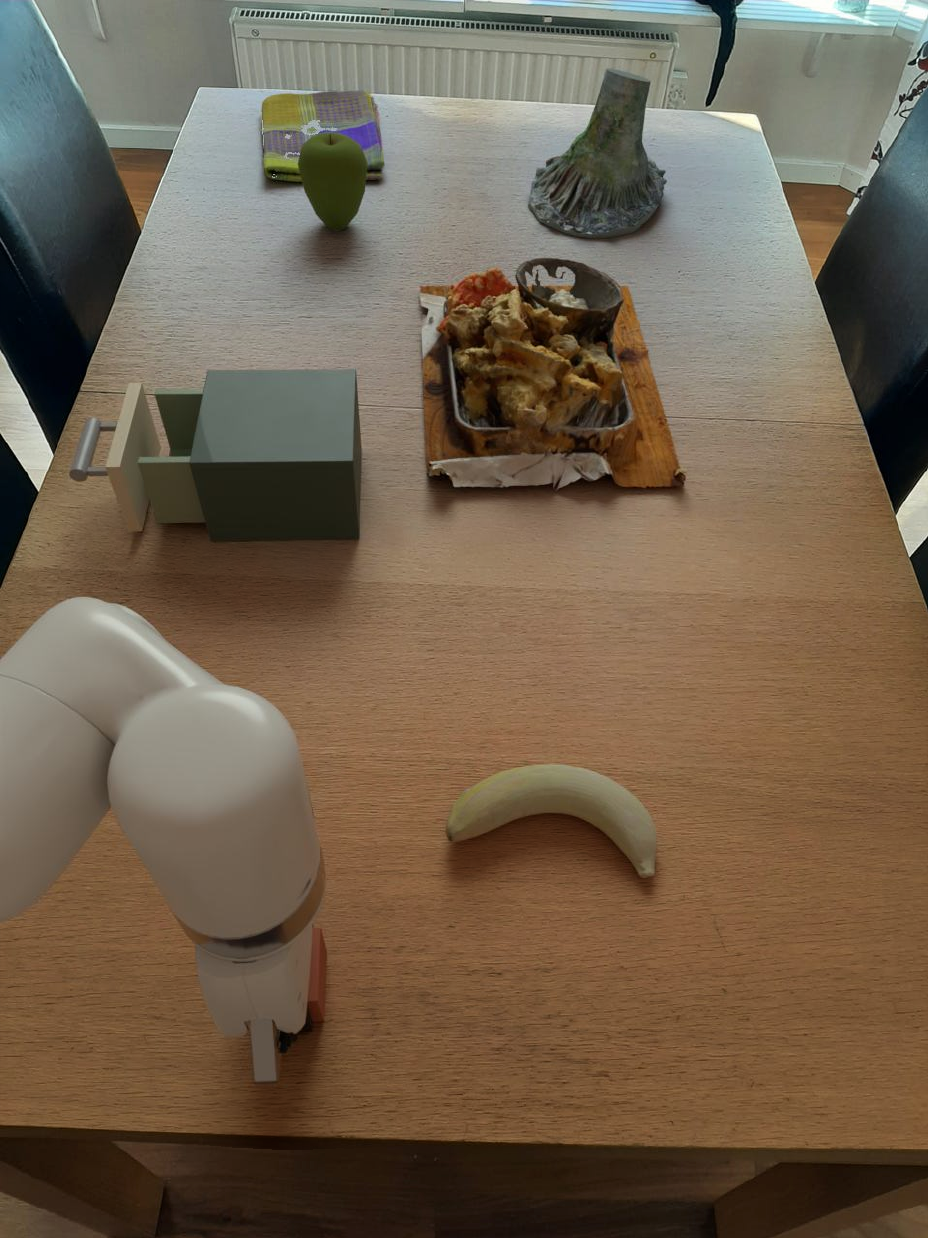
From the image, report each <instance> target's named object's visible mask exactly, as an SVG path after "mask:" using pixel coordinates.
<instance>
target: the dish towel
mask: <svg viewBox="0 0 928 1238" xmlns="http://www.w3.org/2000/svg"><path fill="white" fill-rule="evenodd" d="M378 107H379V106H378V104H377V103H376V102H375V97H374V96H372V95H371V93H370V92H369V91H366V92H365V90H364V89H358V90H357V89H356V90H345V91H338V90H337V91H336V90H331V91H330V90H329V91H318V92H312V93H291V92H290V93H278V94H277V93H276V94H272V95H269V96H267V97H265V99H263V101H262V102H261V112H262V120H263V128H264V130H263V135H264V146H263V138H262V137H261V144H262V148H263V147H264V153H263V152H262V166H263V172H264V174H265V176H267V177H268V176H269V177H268V178H269V179H272V180H278V181H286V182H294V183H295V182H297V183H298V182H299V183H300V182H301V183H302V180H301V176H300V171H299V167H298V162H297V161H298V160H299V156H300V155H297V154H294V155H293V154H288V155H287V158H289V159H286V158H285V157H284V156H285V154H286V152H287V153H288V152H292V153H295V152H296V153H298V152H299V153H300V151H301V147H302V144H304V143H305V142H306V141H307V140H309V139H310V138H311V137H313V136H314V134H313V135H310V136H309V135H307V134H306V135H305V134H304V133H303V132H302V131H301V130H302V129H303V128H302V127H301V126H303V125H308V123H309V122H310V121H312V120H316V121H317V120H320V122H318V123H319V125H320V127H321V128H325V130H323V131H320V132H319V133H318V134H320V133H326V132H334V133H340V134H343V135H346V136H348V137H350V138H352V139H353V140H354V141H356V142H357V143H358V144H360V146H361V148H362V149H363V152H364V154H365V157H366V160H367V162H368V165H367V175H366V181H367V180H369V181H372V180H373V181H374V180H382V179H383V178H382V172H383V169H384V167H385V159H384V155H383V152H382V135H381V132H382V131H381V127H380V117H379V116H380V115H379V109H378ZM319 125H318V126H319ZM260 126H261V128H260V129H261V131H260V132H261V133H260V134H261V135H262V123H261V122H260ZM303 127H304V126H303ZM332 127H333V128H337V130H336V131H331V130H328V129H327V130H326V128H330V129H331V128H332ZM316 131H317V130H316V129H315V128H314V127H311V128H308V129H307V133H311V134H312V133H315V132H316ZM286 134H288V135H290V136H291V135H292V136H291V137H290V139H287V138H285V136H286ZM315 135H316V134H315ZM263 156H264V157H263ZM290 159H292V160H290ZM294 160H295V161H294ZM273 174H275V175H273ZM272 176H273V177H275V178H271V177H272ZM276 176H277V177H276Z"/></svg>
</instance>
